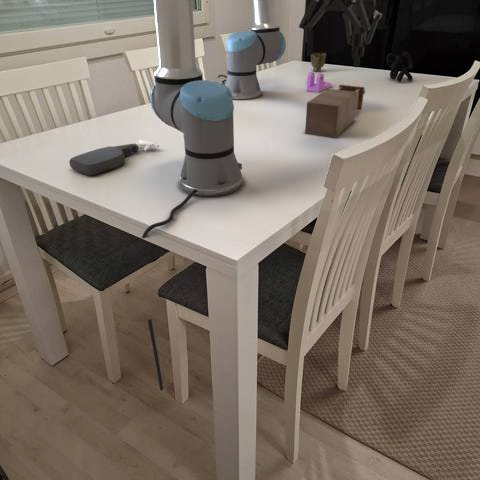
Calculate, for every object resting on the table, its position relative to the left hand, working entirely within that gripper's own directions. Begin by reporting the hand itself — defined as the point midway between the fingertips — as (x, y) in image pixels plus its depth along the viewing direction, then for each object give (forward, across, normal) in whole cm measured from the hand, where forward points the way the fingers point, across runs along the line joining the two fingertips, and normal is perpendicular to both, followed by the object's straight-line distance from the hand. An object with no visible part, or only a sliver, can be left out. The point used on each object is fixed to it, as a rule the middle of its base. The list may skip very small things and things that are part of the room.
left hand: (331, 56), depth 130 cm
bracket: (+22, +21, -53) cm, 61 cm away
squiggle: (+22, -6, -82) cm, 85 cm away
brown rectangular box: (+22, 0, -5) cm, 23 cm away
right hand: (+8, 0, -29) cm, 30 cm away
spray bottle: (+22, +44, +48) cm, 69 cm away
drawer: (+22, 0, -20) cm, 30 cm away
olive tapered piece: (+22, +34, -85) cm, 95 cm away
